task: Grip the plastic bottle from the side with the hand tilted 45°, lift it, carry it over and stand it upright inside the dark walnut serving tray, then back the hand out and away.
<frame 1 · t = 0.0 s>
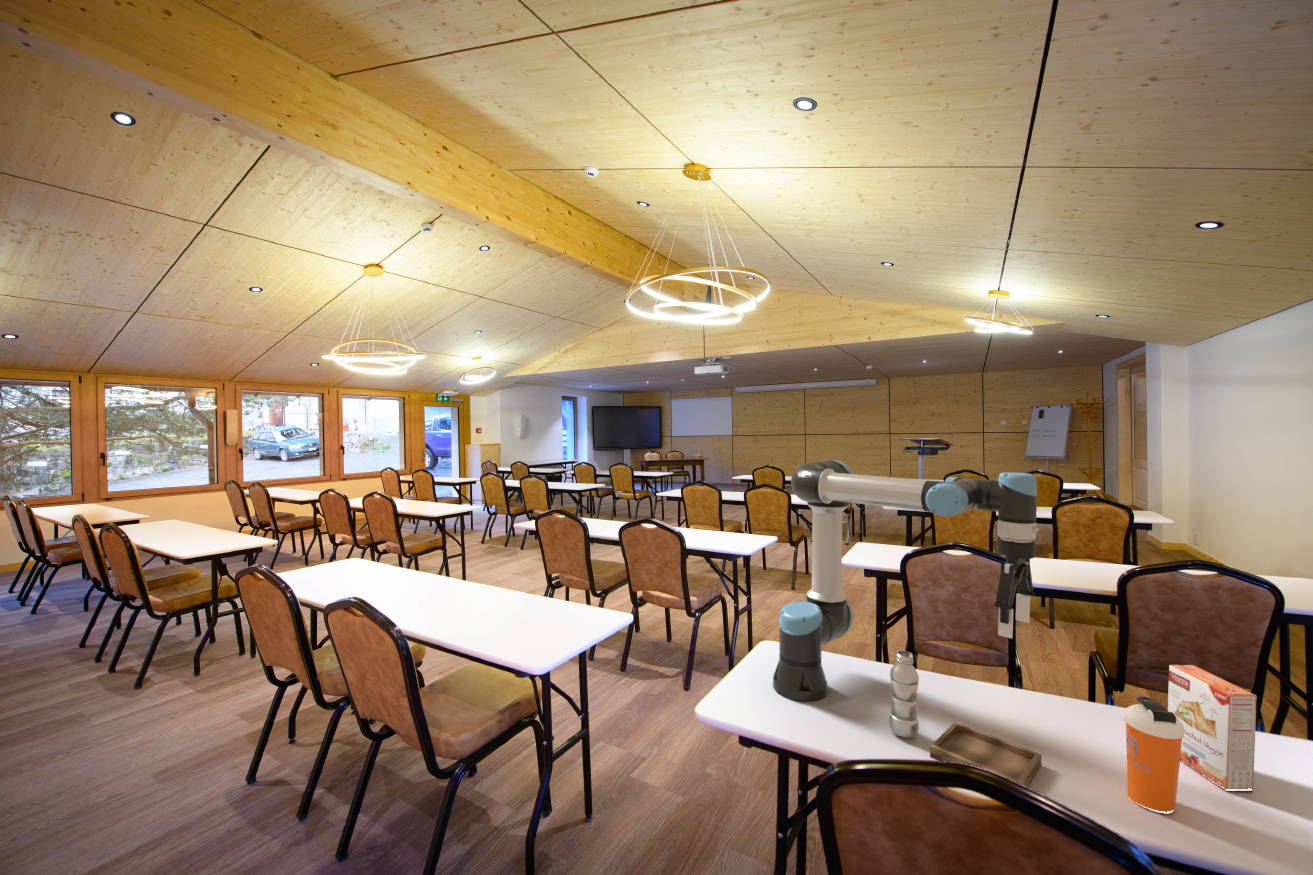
hand: (1014, 628, 129), 28 cm above the table, tool pointing down, fingers open, 13 cm apart
shaker bottle: (1150, 802, 111), on the table
plastic bottle: (903, 734, 135), on the table
cracker box: (1206, 772, 120), on the table
walnut tray: (985, 760, 124), on the table
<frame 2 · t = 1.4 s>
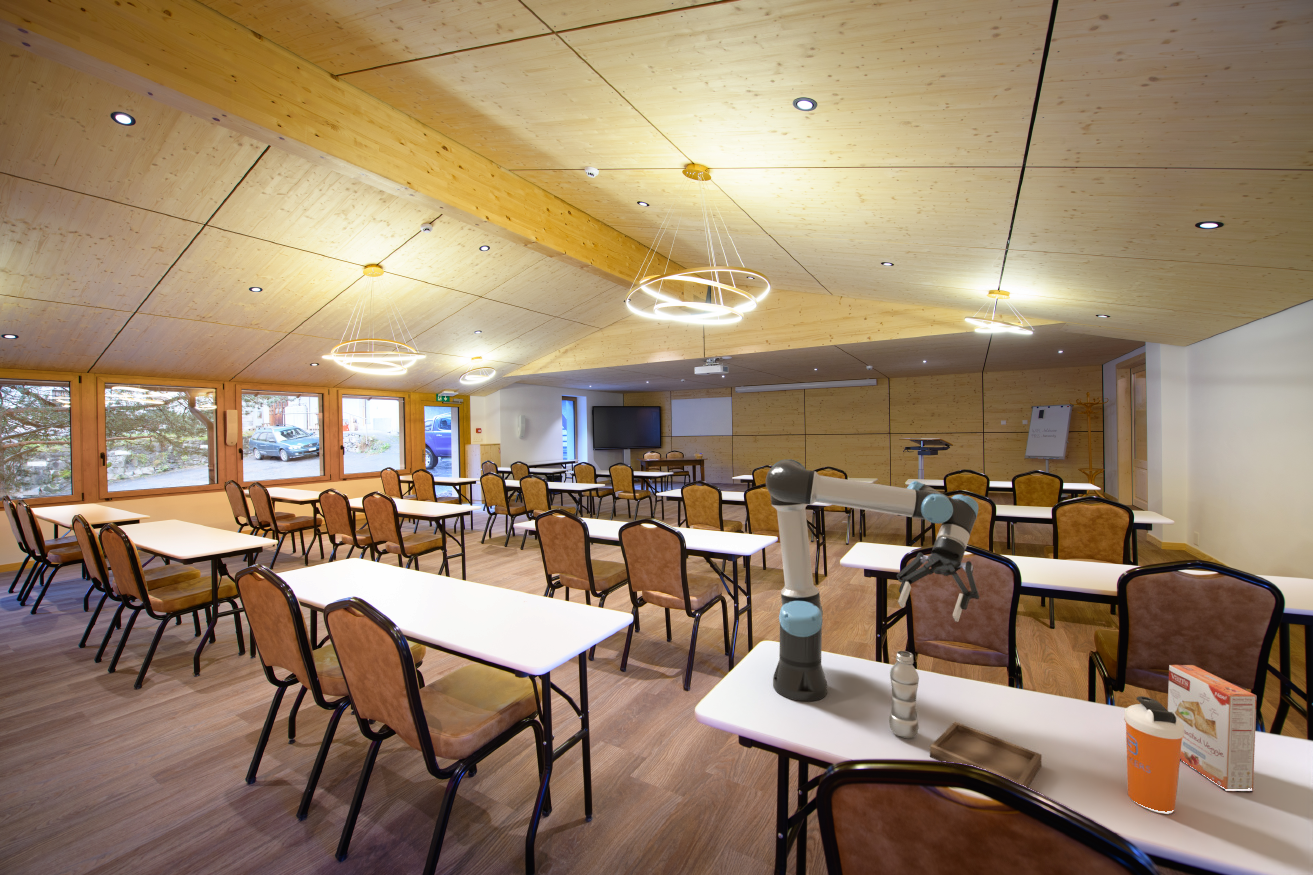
hand: (927, 611, 142), 27 cm above the table, tool tilted 45°, fingers open, 13 cm apart
nothing on the table moved.
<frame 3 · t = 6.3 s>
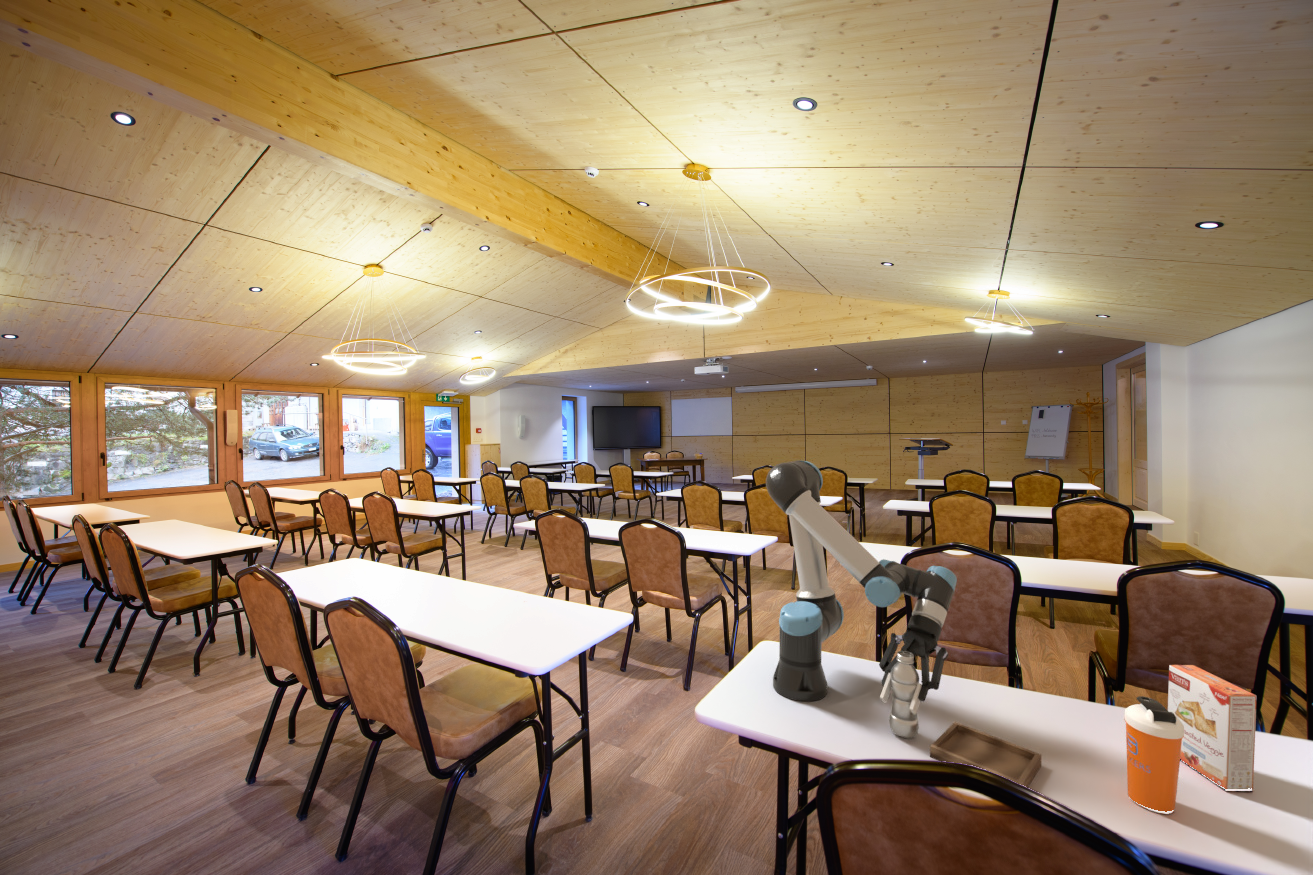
hand: (897, 705, 132), 8 cm above the table, tool tilted 45°, fingers closed on plastic bottle, 6 cm apart
plastic bottle: (903, 734, 135), on the table, touching gripper
everything else where it was.
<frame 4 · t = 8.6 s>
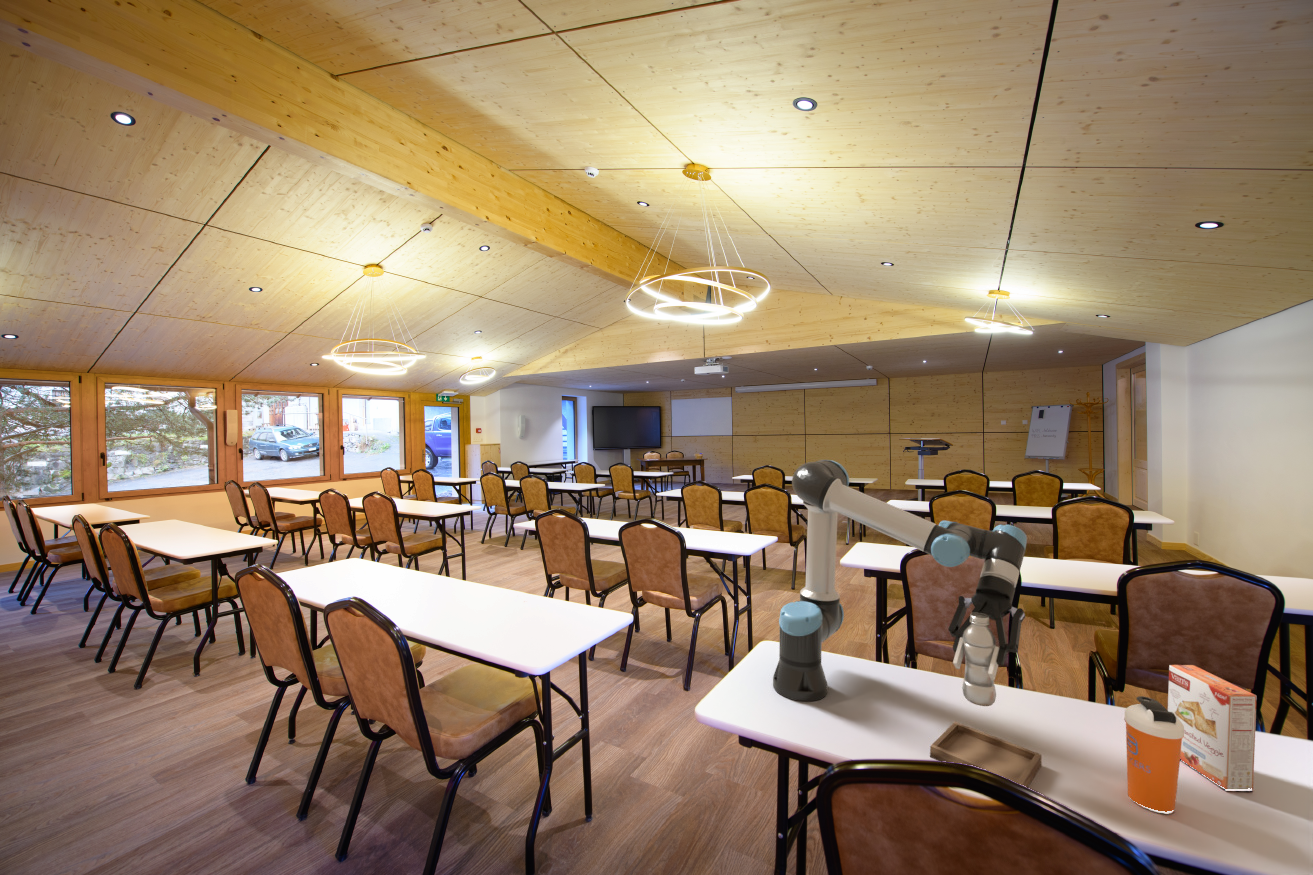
hand: (973, 670, 122), 21 cm above the table, tool tilted 45°, fingers closed on plastic bottle, 6 cm apart
plastic bottle: (978, 703, 124), point 13 cm above the table, touching gripper
everything else where it was.
when the fingers open (11 cm above the table, at t = 11.0 s): plastic bottle drops 1 cm, resting on walnut tray.
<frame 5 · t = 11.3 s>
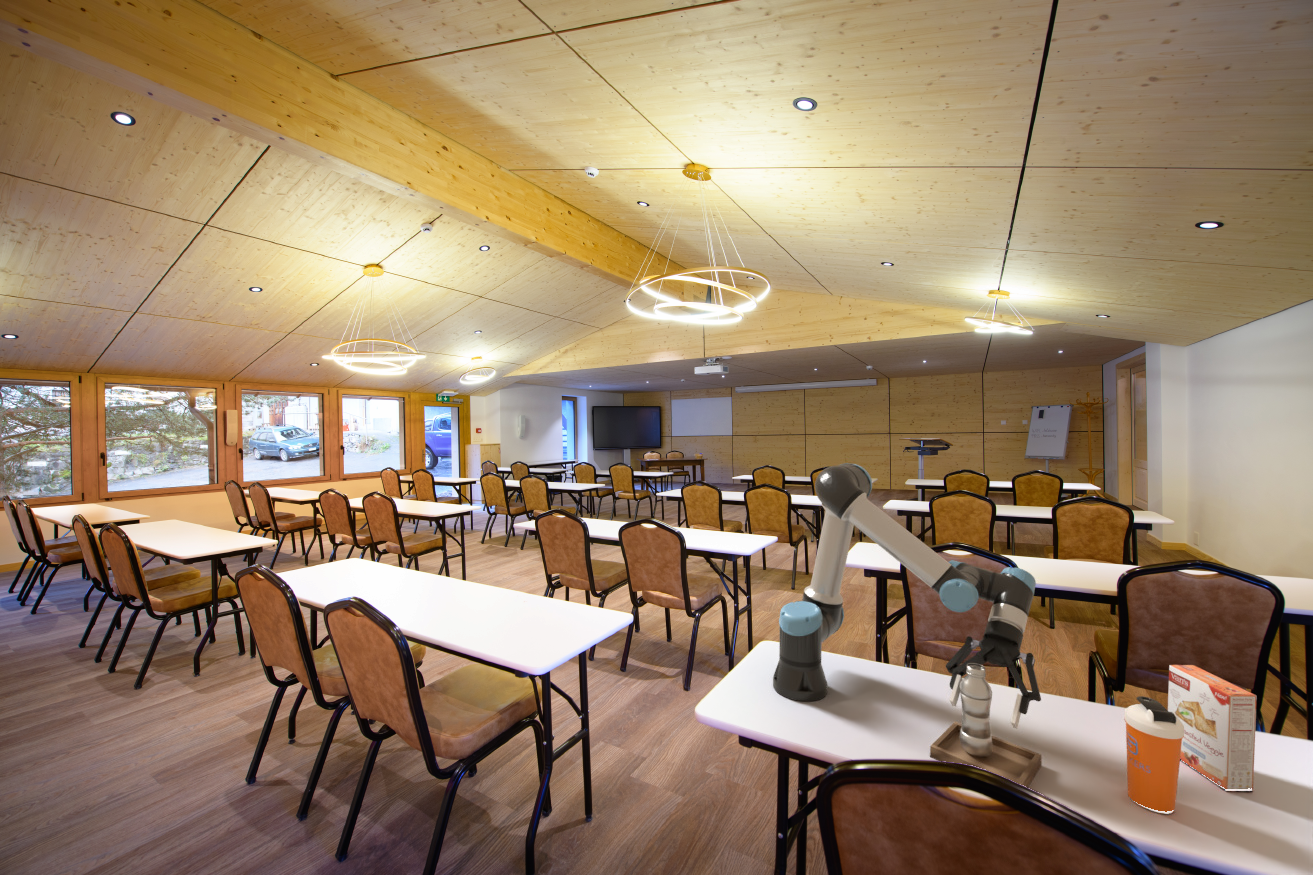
hand: (982, 714, 122), 12 cm above the table, tool tilted 45°, fingers open, 11 cm apart
plastic bottle: (975, 753, 126), point 1 cm above the table, touching walnut tray
everything else where it was.
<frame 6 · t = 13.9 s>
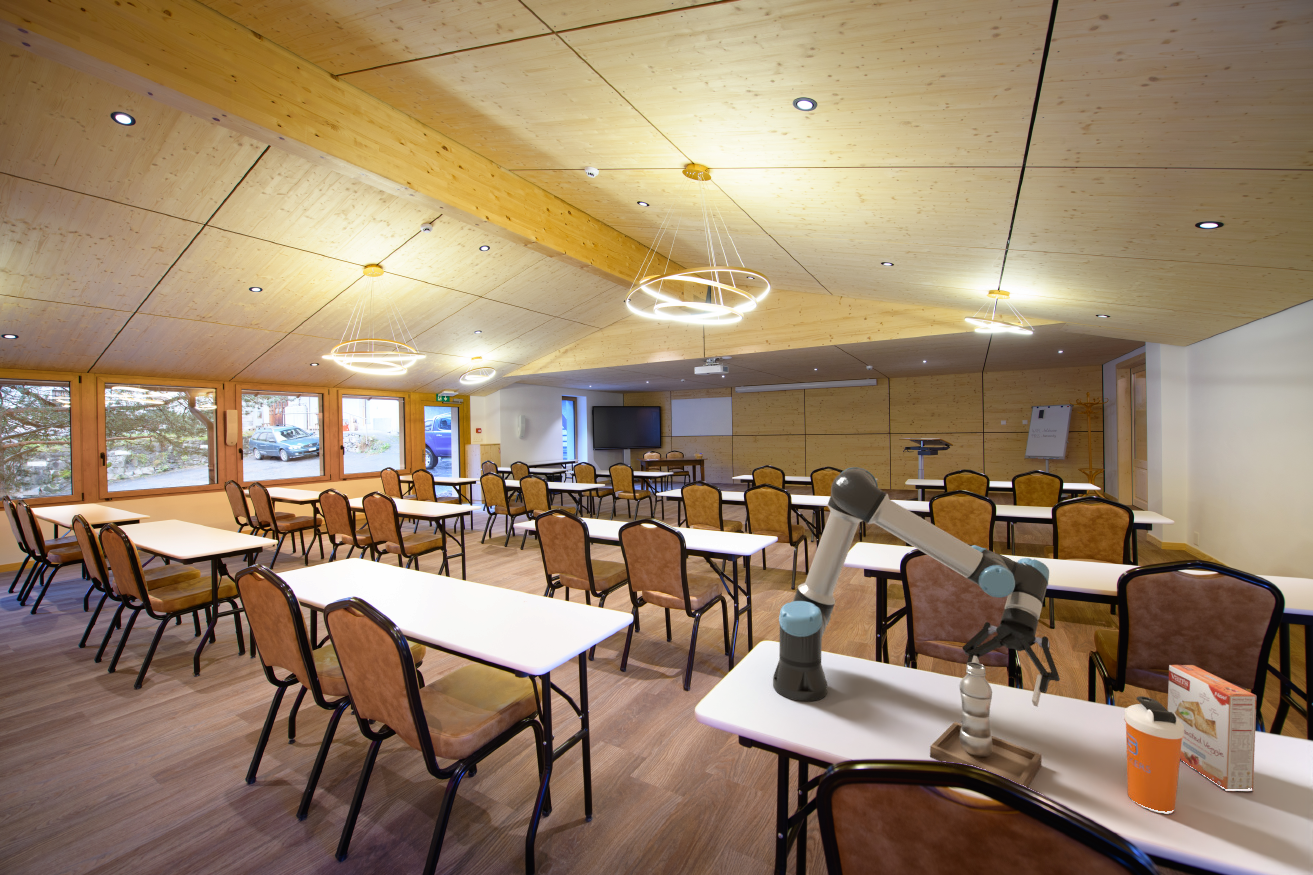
hand: (1000, 692, 130), 12 cm above the table, tool tilted 45°, fingers open, 13 cm apart
nothing on the table moved.
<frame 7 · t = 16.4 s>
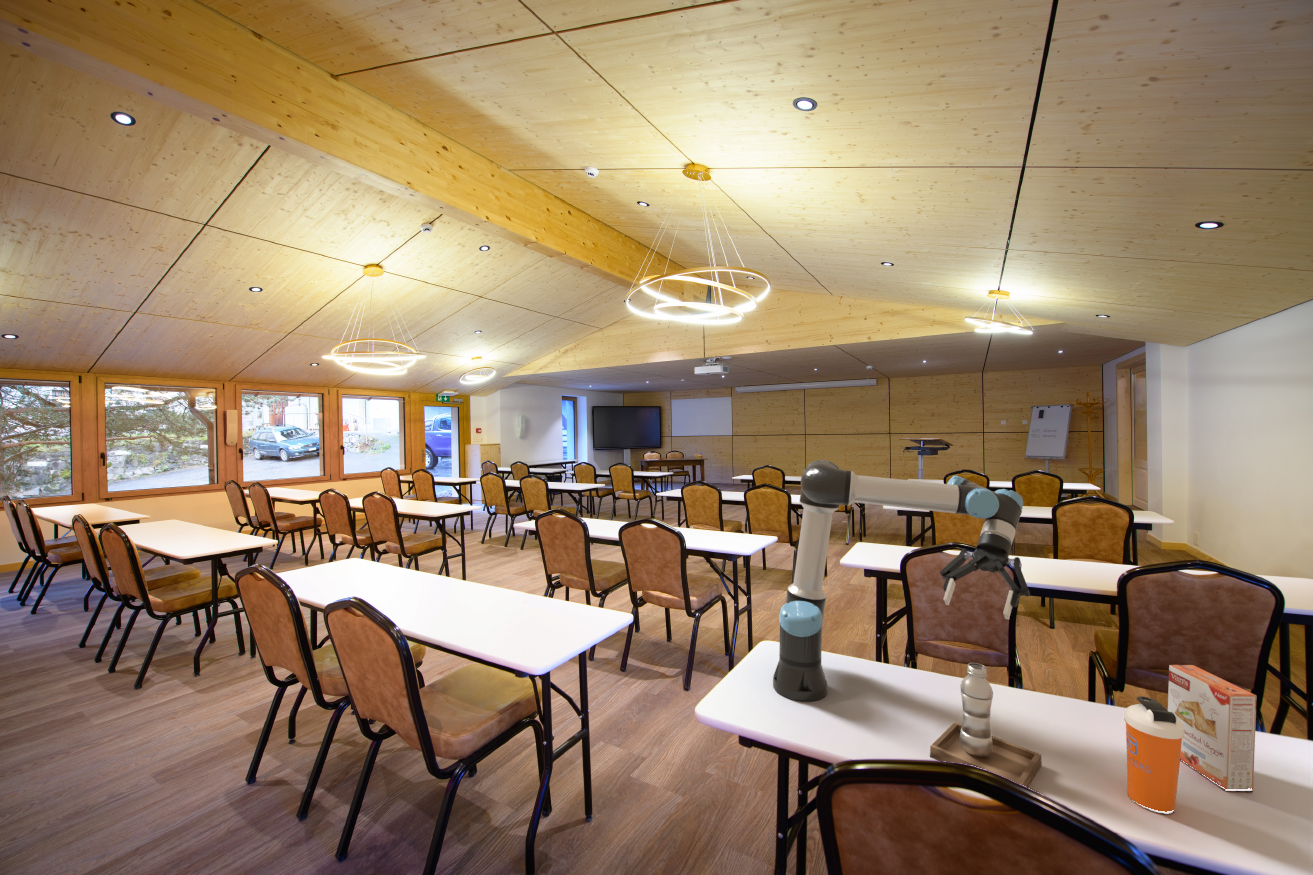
hand: (974, 609, 137), 30 cm above the table, tool tilted 45°, fingers open, 13 cm apart
nothing on the table moved.
at the end: plastic bottle inside the target area on the walnut tray (2.0 cm from its centre), point 0.8 cm above the walnut tray's base; plastic bottle tilted 0°; the gripper is holding nothing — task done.
